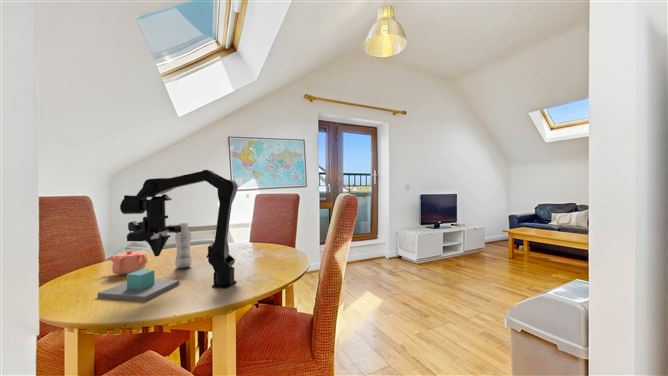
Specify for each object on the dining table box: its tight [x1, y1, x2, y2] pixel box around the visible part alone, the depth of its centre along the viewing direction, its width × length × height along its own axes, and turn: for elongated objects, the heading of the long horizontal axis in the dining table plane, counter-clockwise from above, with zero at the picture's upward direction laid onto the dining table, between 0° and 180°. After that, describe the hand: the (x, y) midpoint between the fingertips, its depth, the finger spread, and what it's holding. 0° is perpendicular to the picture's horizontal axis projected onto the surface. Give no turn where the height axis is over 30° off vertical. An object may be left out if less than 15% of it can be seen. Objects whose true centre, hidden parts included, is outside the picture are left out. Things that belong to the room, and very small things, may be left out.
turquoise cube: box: [126, 269, 155, 290], centre depth 94 cm, size 6×6×5 cm
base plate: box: [97, 278, 180, 302], centre depth 94 cm, size 18×15×2 cm
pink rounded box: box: [109, 249, 148, 277], centre depth 112 cm, size 12×12×10 cm
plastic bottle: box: [174, 222, 192, 269], centre depth 120 cm, size 6×7×20 cm
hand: (156, 256), depth 96 cm, fingers closed
